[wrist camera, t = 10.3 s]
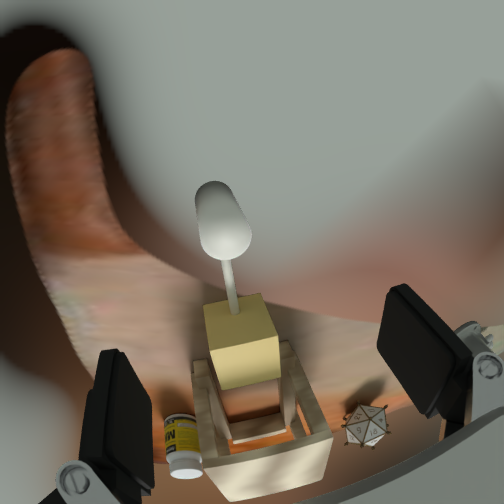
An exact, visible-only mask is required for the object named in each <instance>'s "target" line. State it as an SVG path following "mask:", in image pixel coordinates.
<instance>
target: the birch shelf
mask: <svg viewBox="0 0 504 504" xmlns="http://www.w3.org/2000/svg"><path fill="white" fill-rule="evenodd" d="M279 354H280V368H281V377H279V378H278V390H279V403H280V413H276V414H272V415H268V416H264V417H260V418H255V419H251V420H246V421H242V422H237V423H232V424H229V422H228V420H227V417H226V414H225V411H224V409H223V406H222V403H221V400H220V397H219V394H218V391H217V388H216V386H215V383H214V380H213V377H212V374H211V371H210V367H209V364H208V361H207V359H202V360H196V361H193V365H194V373H191V380H192V389H193V398H194V407H195V415H196V423H197V430H198V438H199V445H200V451H201V458H202V464H203V469H204V470H205V472H206V473H207V474H208V476H209V477H210V478H211V480H212V481H213V482H214V484H215V485H216V486H217V487H218V489H219V490H220V491H221V492H222V494H223V495H224V496H225V497H226V498H227V500H228V501H229V502H233V501H239V500H244V499H250V498H255V497H259V496H264V495H269V494H273V493H276V492H281V491H285V490H288V489H292V488H296V487H299V486H303V485H306V484H310V483H313V482H316V481H319V480H322V478H323V474H324V470H325V467H326V463H327V460H328V456H329V453H330V449H331V445H332V441H333V435H332V433H331V430H330V428H329V426H328V424H327V422H326V419H325V417H324V415H323V413H322V411H321V408H320V406H319V404H318V402H317V399H316V397H315V395H314V393H313V391H312V388H311V386H310V384H309V382H308V379H307V377H306V375H305V373H304V371H303V368H302V366H301V364H300V362H299V359H298V357H297V355H296V353H295V351H292V349H291V347H290V344H289V342H288V340H287V341H283V342H279ZM295 395H296V398H297V400H298V402H299V405H300V407H301V410H302V412H303V415H304V417H305V420H306V422H307V425H308V427H309V430H310V432H311V435H309V436H307V435H306V433H305V430H304V428H303V425H302V422H301V420H300V417H299V415H298V412H297V410H296V407H295ZM287 425H290V428H291V431H292V434H293V436H294V439H295V440H292V441H289V442H285V443H281V444H277V445H274V446H270V447H265V448H261V449H257V450H252V451H248V452H243V453H238V454H233V455H231V453H230V449H229V444H228V439H231V438H232V440H233V443H234V444H236V443H241V442H246V441H251V440H255V439H260V438H264V437H268V436H272V435H276V434H280V433H284V432H286V427H285V426H287Z"/></svg>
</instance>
